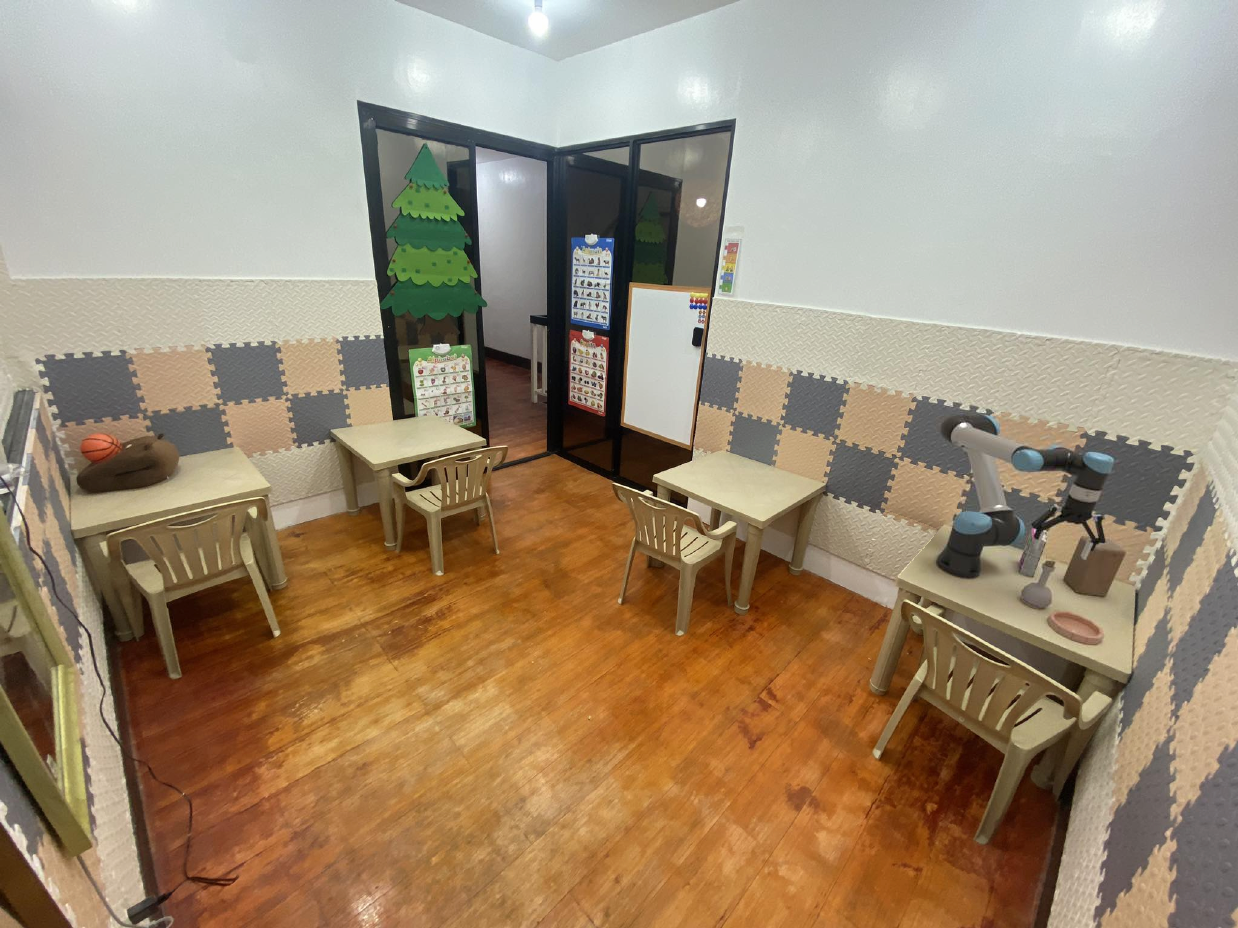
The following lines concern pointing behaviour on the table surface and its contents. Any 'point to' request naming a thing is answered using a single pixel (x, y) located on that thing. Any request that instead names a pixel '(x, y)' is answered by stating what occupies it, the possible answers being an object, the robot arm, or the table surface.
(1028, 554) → the candy bar box
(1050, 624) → the saucer
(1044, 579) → the potion bottle
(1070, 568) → the wooden block
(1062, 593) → the table surface
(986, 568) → the table surface
